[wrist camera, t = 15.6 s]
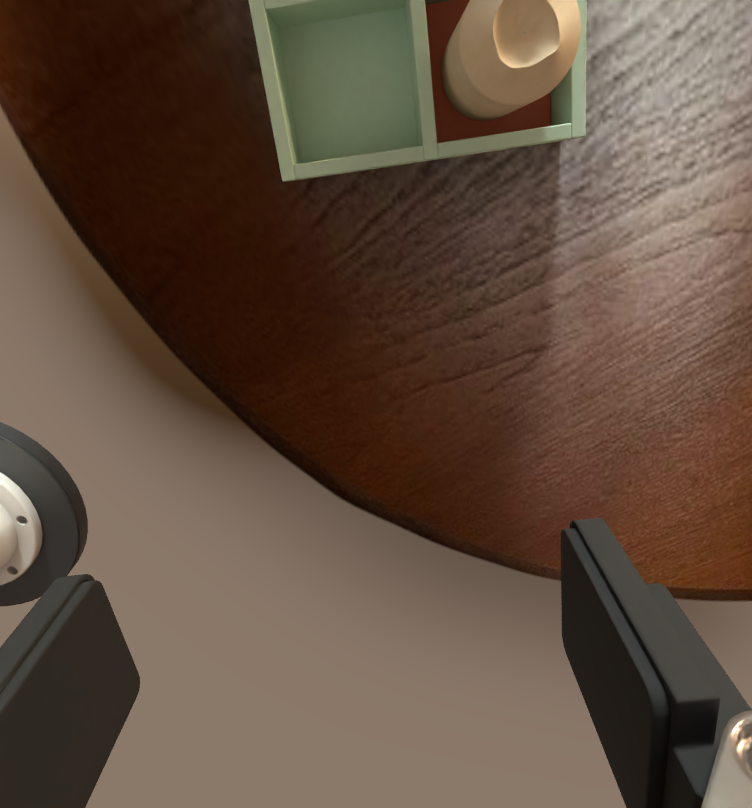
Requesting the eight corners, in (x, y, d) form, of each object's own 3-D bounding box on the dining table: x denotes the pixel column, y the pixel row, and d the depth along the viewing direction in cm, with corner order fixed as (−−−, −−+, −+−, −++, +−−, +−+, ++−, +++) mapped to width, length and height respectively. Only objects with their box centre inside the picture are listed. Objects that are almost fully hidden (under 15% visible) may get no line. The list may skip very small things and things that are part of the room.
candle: (551, 53, 33) (619, 4, 23) (495, 140, 34) (538, 126, 25) (476, -7, 32) (516, -83, 22) (422, 86, 33) (439, 51, 24)
